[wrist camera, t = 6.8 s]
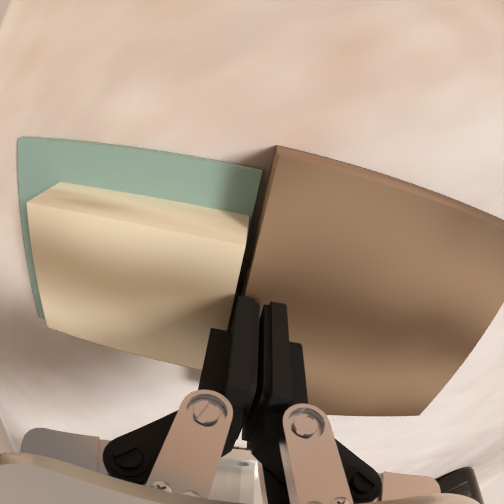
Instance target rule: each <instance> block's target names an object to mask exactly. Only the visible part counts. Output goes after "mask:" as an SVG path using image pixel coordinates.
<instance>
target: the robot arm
mask: <svg viewBox="0 0 504 504" xmlns="http://www.w3.org/2000/svg"><path fill="white" fill-rule="evenodd" d="M259 316H260V303H255V299H254V298H251V297H246V296H241V295H239V297H238V301H237V306H236V310H235V314H234V319H233V323H232V327H231V331H226V330H221V329H215V328H211V329H210V334H209V339H208V344H207V348H206V353H205V358H204V363H203V368H202V373H201V378H200V383H199V388H198V390H197V391H194V392H191V393H190V394H188V395H187V396H186V397H185V398H184V400H183V401H182V403H181V405H180V408H179V410H177V411H175V412H173V413H171V414H169V415H167V416H165V417H163V418H161V419H158V420H156V421H154V422H152V423H150V424H148V425H145V426H143V427H141V428H139V429H136V430H134V431H132V432H129V433H127V434H125V435H122V436H120V437H118V438H115V439H114V440H112V441H108V440H100V439H99V437H94V436H87V435H80V434H73V433H67V432H61V431H56V430H50V429H45V428H34V429H32V430H29V431H28V432H27V433H26V434H25V436H24V438H23V441H22V445H21V451H20V453H3V454H0V504H480V503H479V502H477V501H476V500H474V499H472V498H469V497H466V496H462V495H458V494H450V493H441V490H440V486H439V484H438V483H437V481H436V480H434V479H433V478H431V477H428V476H417V475H407V474H399V473H391V472H383V473H377V472H376V471H375V470H374V469H373V468H372V467H370V466H369V465H368V464H366V463H365V462H364V461H362V460H361V459H360V458H359V457H357V456H356V455H355V454H354V453H352V452H351V451H350V450H348V449H347V448H346V447H345V446H343V445H342V444H341V443H340V442H339V441H337V440H336V439H335V438H334V435H333V432H332V428H331V425H330V422H329V420H328V418H327V416H326V414H325V413H324V412H323V411H322V410H320V409H319V408H317V407H316V406H313V405H310V404H308V396H307V386H306V376H305V366H304V357H303V348H302V345H301V343H295V342H289V329H288V315H287V305H286V304H283V303H278V302H272V301H271V302H270V304H269V305H266V304H264V306H263V309H262V312H261V316H260V319H259ZM241 429H242V440H245V441H247V449H251V451H249V450H243V449H233V446H234V444H235V441H236V439H238V437H239V434H240V432H241Z"/></svg>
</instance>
